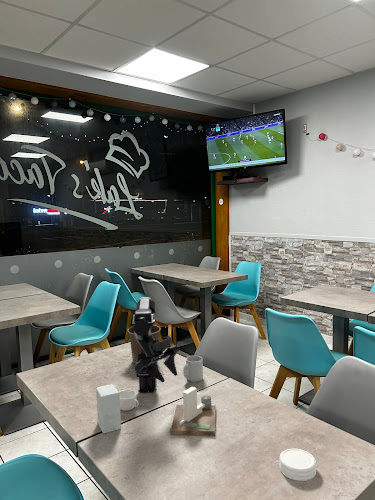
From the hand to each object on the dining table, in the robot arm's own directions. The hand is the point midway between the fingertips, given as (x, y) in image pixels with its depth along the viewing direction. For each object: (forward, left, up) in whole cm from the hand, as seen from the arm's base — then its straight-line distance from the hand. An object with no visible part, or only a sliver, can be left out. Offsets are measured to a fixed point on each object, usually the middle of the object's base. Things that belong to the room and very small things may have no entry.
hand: (170, 378), depth 140 cm
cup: (+5, +30, -14) cm, 33 cm away
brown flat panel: (+9, -4, -14) cm, 17 cm away
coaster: (+39, -28, -14) cm, 50 cm away
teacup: (-17, +4, -14) cm, 22 cm away
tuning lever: (+9, -3, -12) cm, 15 cm away
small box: (-21, -8, -14) cm, 26 cm away
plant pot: (-20, +51, -14) cm, 56 cm away
